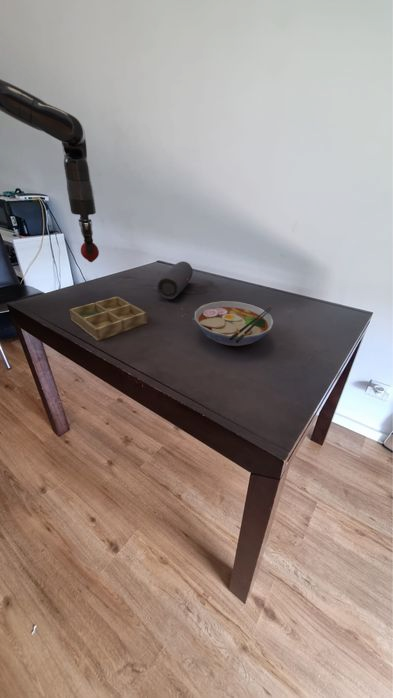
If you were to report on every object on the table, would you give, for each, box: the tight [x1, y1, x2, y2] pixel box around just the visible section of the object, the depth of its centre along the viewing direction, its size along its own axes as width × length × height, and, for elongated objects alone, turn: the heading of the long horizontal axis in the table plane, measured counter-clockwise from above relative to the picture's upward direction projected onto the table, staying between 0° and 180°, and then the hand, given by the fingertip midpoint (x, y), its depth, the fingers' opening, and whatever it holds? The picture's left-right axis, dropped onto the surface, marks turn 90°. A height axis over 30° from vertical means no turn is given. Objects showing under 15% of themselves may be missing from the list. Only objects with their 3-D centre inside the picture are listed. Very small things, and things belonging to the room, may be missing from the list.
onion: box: [80, 241, 100, 263], centre depth 98 cm, size 6×6×8 cm
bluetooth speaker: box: [156, 261, 194, 300], centre depth 113 cm, size 23×9×10 cm, turn 167°
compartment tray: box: [68, 296, 148, 342], centre depth 91 cm, size 17×17×4 cm
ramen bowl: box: [194, 300, 274, 347], centre depth 84 cm, size 25×23×8 cm
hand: (89, 251), depth 98 cm, fingers closed on onion, 6 cm apart
